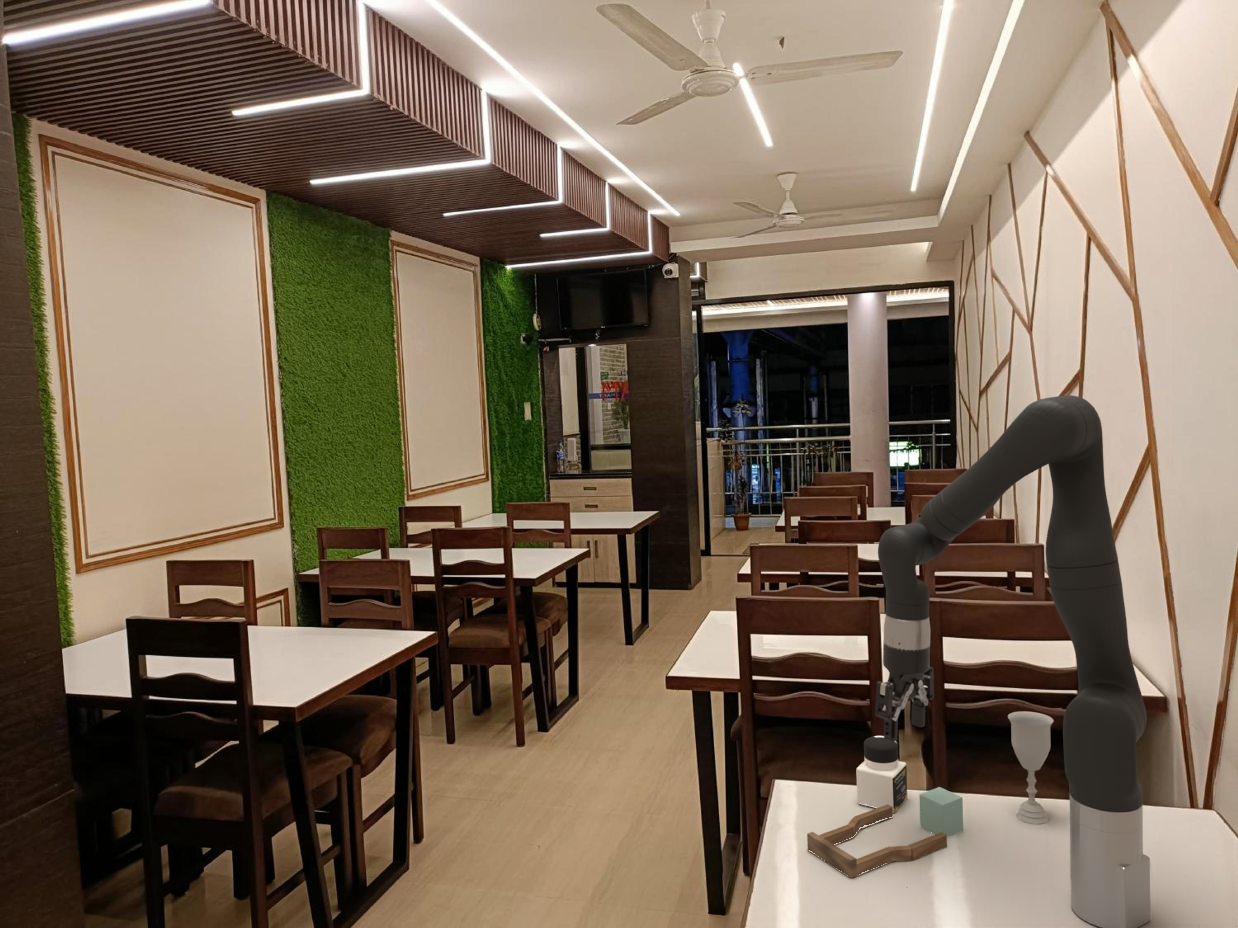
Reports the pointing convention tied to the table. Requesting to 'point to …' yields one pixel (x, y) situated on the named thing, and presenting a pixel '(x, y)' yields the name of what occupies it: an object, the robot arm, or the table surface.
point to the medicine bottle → (881, 775)
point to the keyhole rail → (854, 867)
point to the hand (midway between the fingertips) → (904, 732)
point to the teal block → (941, 811)
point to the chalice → (1031, 756)
